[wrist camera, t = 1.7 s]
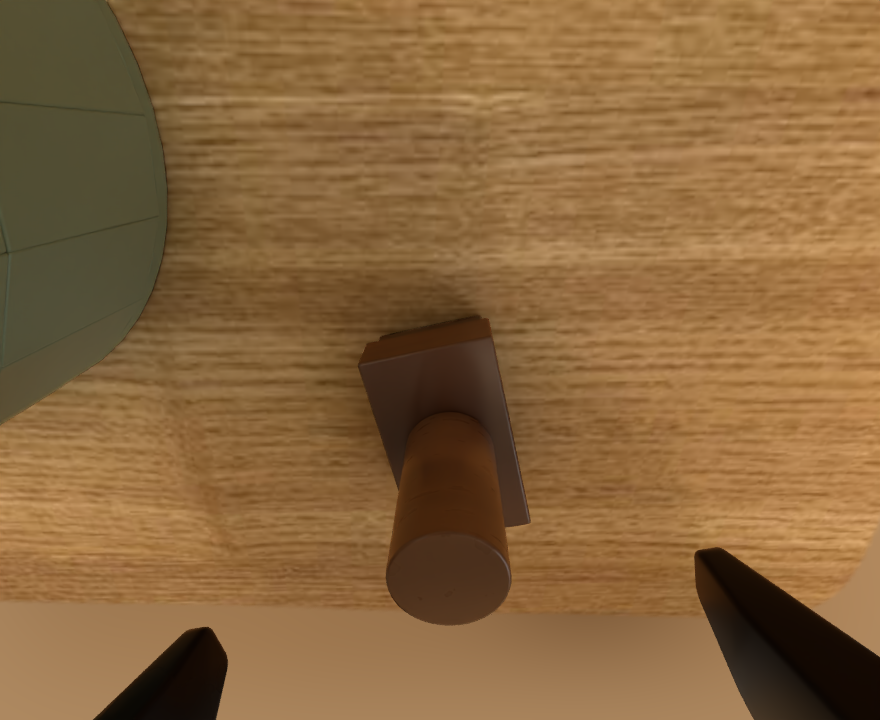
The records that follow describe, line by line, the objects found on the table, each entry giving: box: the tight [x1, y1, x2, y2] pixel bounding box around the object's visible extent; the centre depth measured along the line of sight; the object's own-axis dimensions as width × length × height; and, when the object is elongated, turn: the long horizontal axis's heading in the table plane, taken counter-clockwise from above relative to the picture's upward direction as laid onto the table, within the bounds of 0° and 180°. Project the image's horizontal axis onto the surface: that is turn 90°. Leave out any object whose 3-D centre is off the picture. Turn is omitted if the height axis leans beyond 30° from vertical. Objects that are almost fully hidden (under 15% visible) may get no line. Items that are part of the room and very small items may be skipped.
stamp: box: [358, 315, 531, 625], centre depth 13 cm, size 6×4×7 cm, turn 13°
